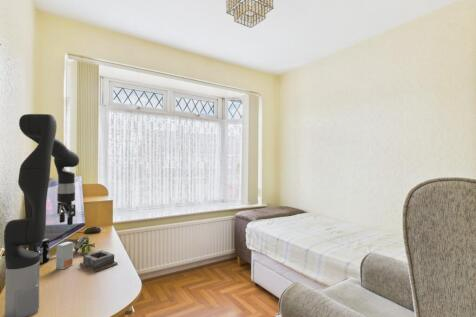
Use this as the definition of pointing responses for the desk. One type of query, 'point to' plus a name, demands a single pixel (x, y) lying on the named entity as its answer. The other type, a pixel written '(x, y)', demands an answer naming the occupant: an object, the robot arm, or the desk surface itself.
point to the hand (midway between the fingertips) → (66, 223)
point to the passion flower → (81, 242)
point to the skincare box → (64, 255)
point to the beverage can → (44, 250)
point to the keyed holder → (98, 261)
